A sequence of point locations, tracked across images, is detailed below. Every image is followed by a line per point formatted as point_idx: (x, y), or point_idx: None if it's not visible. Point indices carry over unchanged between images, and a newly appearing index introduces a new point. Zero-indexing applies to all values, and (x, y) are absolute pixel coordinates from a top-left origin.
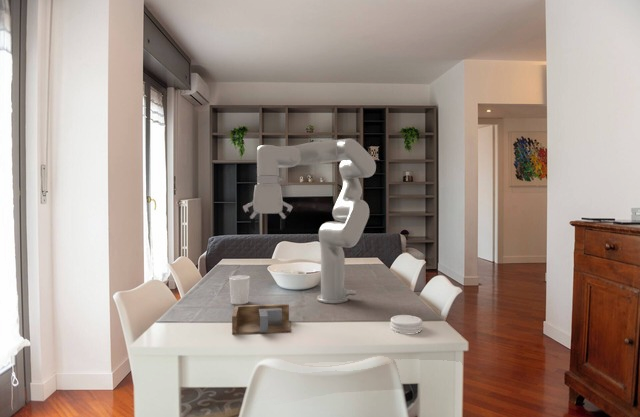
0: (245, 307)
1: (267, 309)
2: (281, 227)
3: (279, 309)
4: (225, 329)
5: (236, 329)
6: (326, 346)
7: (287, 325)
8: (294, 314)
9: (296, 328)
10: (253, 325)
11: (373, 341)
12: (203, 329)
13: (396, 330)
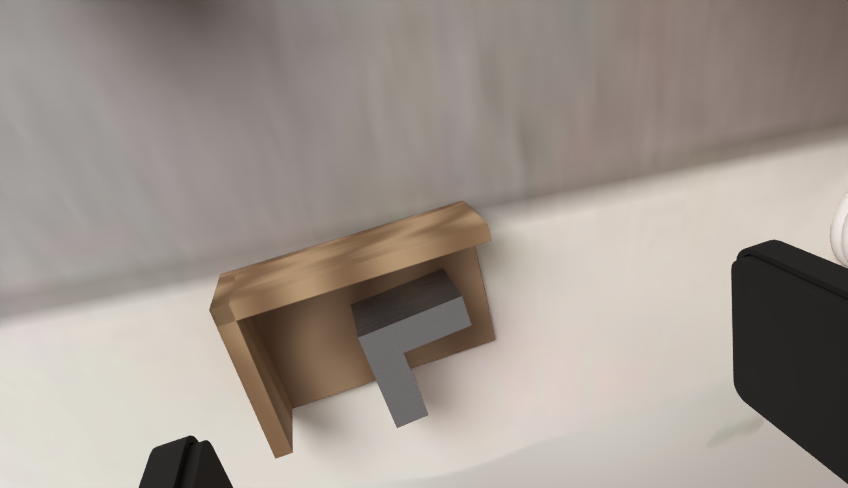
0: (273, 306)
1: (402, 333)
2: (780, 421)
3: (458, 320)
4: (222, 367)
5: (286, 395)
6: (612, 421)
7: (474, 291)
8: (475, 100)
9: (508, 292)
10: (333, 322)
11: None
12: (123, 389)
13: (841, 259)
